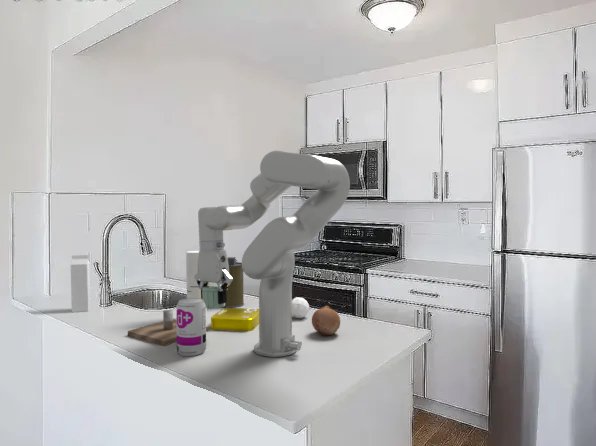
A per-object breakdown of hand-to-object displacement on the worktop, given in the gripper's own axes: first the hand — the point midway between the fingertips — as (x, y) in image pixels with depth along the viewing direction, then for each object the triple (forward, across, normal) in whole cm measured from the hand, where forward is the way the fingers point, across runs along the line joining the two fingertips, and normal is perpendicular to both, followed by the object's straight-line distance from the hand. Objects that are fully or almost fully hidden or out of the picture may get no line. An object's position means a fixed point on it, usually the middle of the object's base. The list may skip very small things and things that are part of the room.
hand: (213, 301), depth 141 cm
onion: (+13, -26, -24) cm, 38 cm away
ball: (+12, -8, -36) cm, 39 cm away
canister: (+11, +27, -37) cm, 47 cm away
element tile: (+12, +5, -16) cm, 21 cm away
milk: (+9, +70, +4) cm, 71 cm away
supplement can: (+12, -4, +13) cm, 18 cm away
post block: (+11, +16, +5) cm, 20 cm away
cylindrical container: (+11, +22, -13) cm, 28 cm away
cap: (+1, 0, 0) cm, 1 cm away
